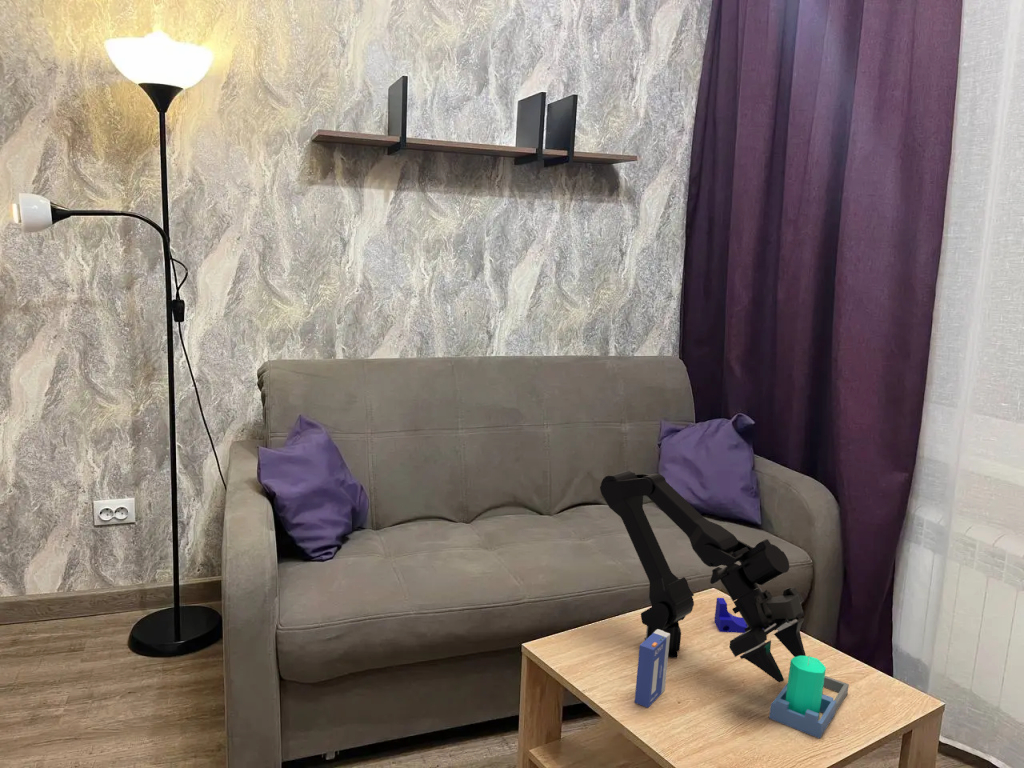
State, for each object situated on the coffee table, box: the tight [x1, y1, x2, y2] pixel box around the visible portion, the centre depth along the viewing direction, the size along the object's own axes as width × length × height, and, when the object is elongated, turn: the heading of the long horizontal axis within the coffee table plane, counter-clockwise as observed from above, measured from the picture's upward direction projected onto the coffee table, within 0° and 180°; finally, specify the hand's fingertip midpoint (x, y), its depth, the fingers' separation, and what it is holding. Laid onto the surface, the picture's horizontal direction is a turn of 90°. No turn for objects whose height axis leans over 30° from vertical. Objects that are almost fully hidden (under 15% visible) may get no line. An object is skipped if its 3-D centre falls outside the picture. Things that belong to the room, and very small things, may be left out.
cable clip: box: [714, 597, 763, 634], centre depth 180 cm, size 12×4×6 cm, turn 90°
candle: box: [785, 655, 827, 721], centre depth 148 cm, size 6×6×12 cm
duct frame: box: [768, 675, 850, 739], centre depth 152 cm, size 18×9×4 cm, turn 144°
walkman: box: [634, 629, 670, 709], centre depth 151 cm, size 8×3×12 cm, turn 146°
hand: (793, 672), depth 149 cm, fingers open, 9 cm apart
